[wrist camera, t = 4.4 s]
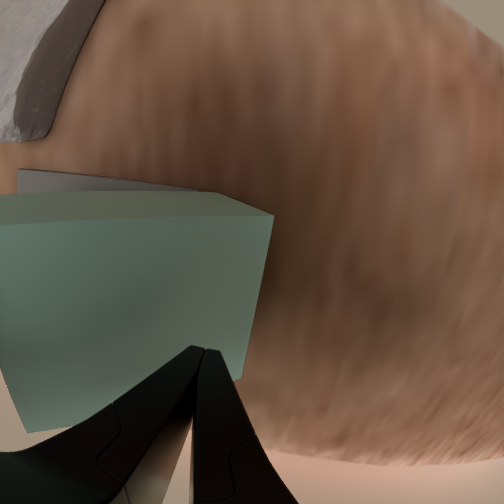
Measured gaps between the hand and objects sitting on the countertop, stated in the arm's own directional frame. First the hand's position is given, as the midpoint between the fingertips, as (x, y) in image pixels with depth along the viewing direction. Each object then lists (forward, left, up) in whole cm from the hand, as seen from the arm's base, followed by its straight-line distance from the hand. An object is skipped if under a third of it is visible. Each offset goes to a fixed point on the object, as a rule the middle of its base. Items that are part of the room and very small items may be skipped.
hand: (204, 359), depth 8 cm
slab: (0, 0, -5) cm, 5 cm away
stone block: (+13, -12, -7) cm, 19 cm away
